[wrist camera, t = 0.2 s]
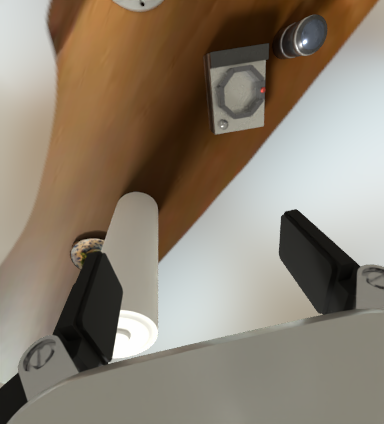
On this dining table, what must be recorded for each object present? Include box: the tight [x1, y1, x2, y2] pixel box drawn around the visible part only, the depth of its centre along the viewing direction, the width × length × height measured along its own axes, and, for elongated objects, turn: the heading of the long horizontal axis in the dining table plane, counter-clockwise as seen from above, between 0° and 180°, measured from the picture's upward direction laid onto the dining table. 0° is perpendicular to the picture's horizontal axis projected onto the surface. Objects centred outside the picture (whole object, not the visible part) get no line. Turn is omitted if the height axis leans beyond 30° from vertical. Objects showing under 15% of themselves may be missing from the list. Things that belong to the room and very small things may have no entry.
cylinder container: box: [101, 192, 158, 358], centre depth 38 cm, size 9×9×30 cm
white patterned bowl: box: [70, 238, 105, 270], centre depth 52 cm, size 12×12×8 cm
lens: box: [272, 15, 327, 59], centre depth 35 cm, size 5×5×8 cm
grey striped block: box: [203, 43, 269, 134], centre depth 38 cm, size 12×9×7 cm
